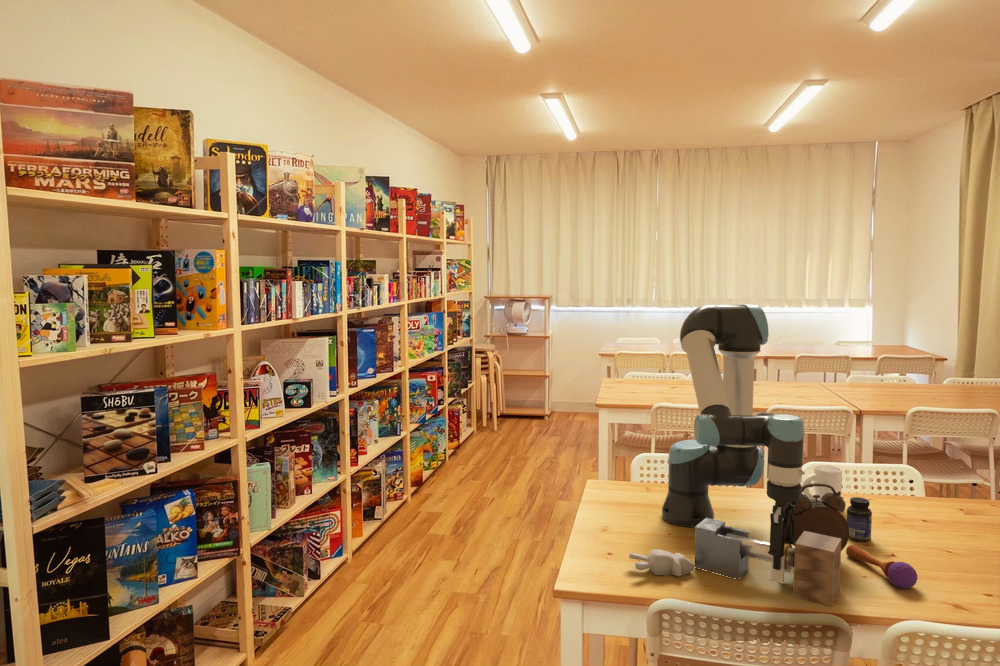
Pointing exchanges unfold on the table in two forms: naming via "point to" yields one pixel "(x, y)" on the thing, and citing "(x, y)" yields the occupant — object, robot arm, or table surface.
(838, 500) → the alarm clock
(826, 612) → the table surface
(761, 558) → the tube
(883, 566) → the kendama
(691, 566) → the bunny figurine
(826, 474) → the mug
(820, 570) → the socket block
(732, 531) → the square shaft housing
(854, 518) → the pill bottle
